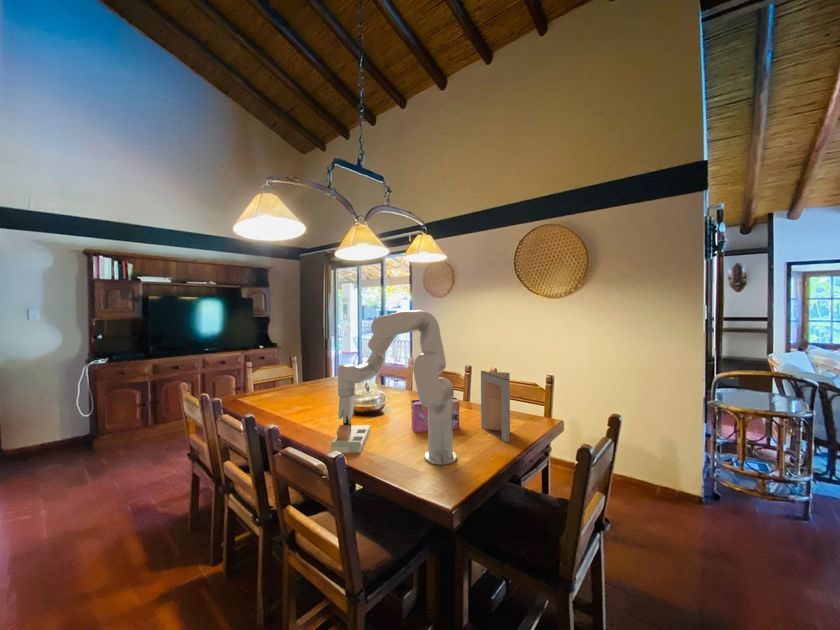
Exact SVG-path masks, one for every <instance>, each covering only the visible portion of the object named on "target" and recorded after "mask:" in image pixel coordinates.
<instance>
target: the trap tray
mask: <svg viewBox="0 0 840 630" xmlns="http://www.w3.org/2000/svg"><path fill="white" fill-rule="evenodd" d="M370 432H371V425H370V424H369V425H367V424H365V425H363V424H362V425H361V424H360V425H357V424H356V425H355V424H354V425H351V434H350V437H349V439H348V441H347V440H338V438H337V435H336V437H335V438H334V439H333V440H332V441H331V443H330V445H331V446H330V447H331V450H330V451H331V453H332V451H339V452H341V453H340V454H354V453H355V454H357V453H358V454H360V453H362V451H363V448H364V446H365V443H366V441H367V439H368V436H369V435H370Z"/></svg>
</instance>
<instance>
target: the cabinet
mask: <svg viewBox="0 0 840 630" xmlns="http://www.w3.org/2000/svg"><path fill="white" fill-rule="evenodd" d="M510 376H511V375H510V372H501V371H500V372H499V371H486V370H480V409H481V410H480V414H481V415H480V417H481V418H480V419H481V423H480V425H481V429H483V430H484V431H486V432H488V433H489V434H491V435H492V436H494V437H495V438H497V439H499V440H500V441H502V442H504V443H505V444H509V443H510V433H511V396H510V395H511V392H510V391H511V387H510V385H511V384H510V383H511V382H510Z"/></svg>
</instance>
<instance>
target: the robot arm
mask: <svg viewBox="0 0 840 630" xmlns="http://www.w3.org/2000/svg"><path fill="white" fill-rule="evenodd" d="M370 328H371V333H372V336H371V337H370V339H369V341H368V343H367V347H368V348H369V349H370V350H371V353H370V356H369V357H368V358H367V361H365V362H364V363H360V364H357V365H354V364H353V363H341V364H339V365H338V366H337V396H338V397H339V399H338V415H337V416H338V420H341V419H342V425H350V431H351V426H352V416H353V415H354V410H355V408H354V406H355V404H354V402H355V401H354V396H356V384H361V383H364V382H367V381H368V380H372V379H373V378H375V377H376V376H377V374H378V373H379V371H380V370H381V368H382V366H383V365H384V363H385V360H386V353H387V351H388V350H389V348H390V346H392V343H393V342H394V340H395V338H396V337H397V336H398V335H402V334H406V333H412V332H418V333H419V335H420V336H419V345H420V348H421V354H419V355H418V356H417V357H416V358H415V359H414V362H413V375H414V381H415V385H416V387H415V388H416V392H417V396H418V400H420V402H421V403H422V404H423V405H424V406H425V407H427V408H428V431H427V433H428V434H427V435H428V436H427V438H428V439H427V441H428V442H427V443H428V445H427V446H428V447H427V448H428V451H426V452H425V453H424V460H425V461H426V462H427V463H430V464H433V465H438V466H442V465H443V466H445V465H450V464H453V463H454V462H456V461H457V459H458V456H457V455H458V454H456V452H455V451H453V446H454V444H453V442H454V441H453V439H454V438H453V429H452V406H453V398H454V395H455V394H454V393H455V389H454V385H453V383H452V382H451V381H450V380H449V379H448V378H447V377H443V376H440V374H441V373H443V372H444V371H445V370H446V367H447V361H446V357H445V351H444V344H443V340H442V335H441V329H440V326H439V322H438V320H437V318H436V317H435V316H434V315H433V314H432V313H430V312H428V311H426V310H420V309H409V310H408V309H407V310H401V311H398V312H393V313H390V314H384V315H380V316H379V315H378V316H377V317H375V319H373V320H372V322H371V326H370Z"/></svg>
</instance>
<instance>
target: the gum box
mask: <svg viewBox="0 0 840 630" xmlns="http://www.w3.org/2000/svg"><path fill="white" fill-rule="evenodd" d="M410 402H411V429H412V431H413V433H423V432H428V408H427V407H425V406H424V405H423V404H422V403H421V402H420V400H419V399H414V400H413V399H412V400H411V401H410ZM460 406H461V405H460V401H459V400H458V398H457V397H453V406H452V430H458V429H459V430H460Z"/></svg>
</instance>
